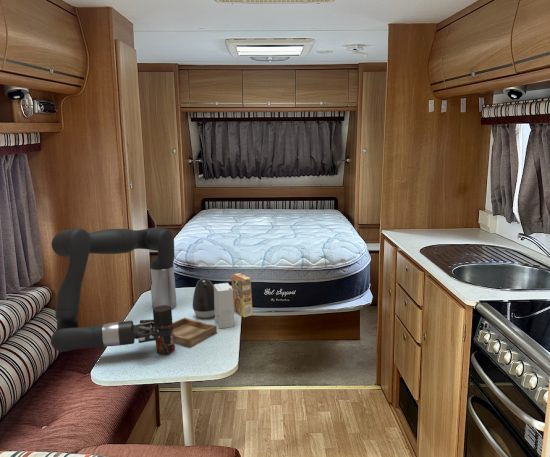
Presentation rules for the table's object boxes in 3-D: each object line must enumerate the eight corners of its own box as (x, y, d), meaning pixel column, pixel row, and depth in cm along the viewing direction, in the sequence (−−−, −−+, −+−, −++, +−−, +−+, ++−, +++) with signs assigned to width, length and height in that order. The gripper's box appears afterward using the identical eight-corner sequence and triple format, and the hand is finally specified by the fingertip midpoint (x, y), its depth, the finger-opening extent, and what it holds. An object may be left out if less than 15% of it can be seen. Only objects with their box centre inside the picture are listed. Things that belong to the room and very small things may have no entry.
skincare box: (214, 321, 193) (212, 284, 190) (230, 319, 195) (227, 281, 192) (219, 329, 185) (217, 290, 183) (235, 326, 187) (233, 288, 184)
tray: (156, 337, 180) (155, 330, 180) (184, 324, 191) (184, 317, 191) (189, 347, 171) (188, 339, 170) (216, 333, 182) (216, 325, 182)
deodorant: (159, 347, 172) (155, 305, 169) (176, 347, 172) (173, 305, 169) (154, 355, 166) (150, 311, 163) (172, 354, 166) (168, 311, 163)
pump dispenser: (195, 322, 193) (192, 284, 190) (191, 313, 203) (188, 276, 200) (221, 318, 196) (219, 280, 193) (217, 309, 206) (214, 273, 203)
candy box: (253, 315, 198) (251, 277, 195) (243, 317, 196) (241, 279, 193) (241, 309, 205) (239, 272, 202) (232, 311, 203) (230, 274, 200)
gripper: (115, 331, 157) (170, 324, 160) (119, 315, 171) (170, 309, 174) (117, 353, 158) (172, 347, 162) (121, 335, 172) (171, 330, 176)
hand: (171, 327), depth 168 cm, fingers closed on deodorant, 6 cm apart
